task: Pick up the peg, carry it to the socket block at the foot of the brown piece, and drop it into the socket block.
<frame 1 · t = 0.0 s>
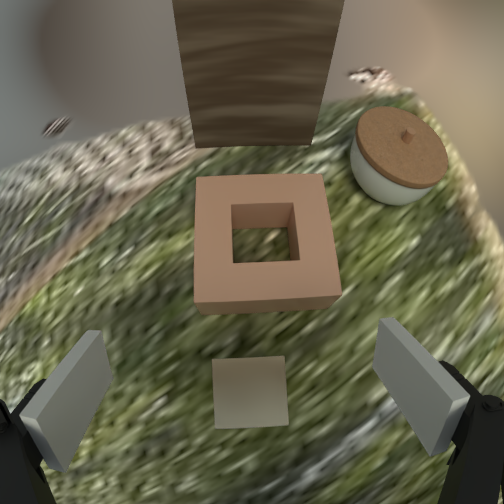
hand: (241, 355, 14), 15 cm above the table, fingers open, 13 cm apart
lidded jar: (381, 182, 37), on the table
brown piece: (254, 158, 37), on the table
socket block: (261, 253, 33), on the table
peg: (248, 387, 28), on the table
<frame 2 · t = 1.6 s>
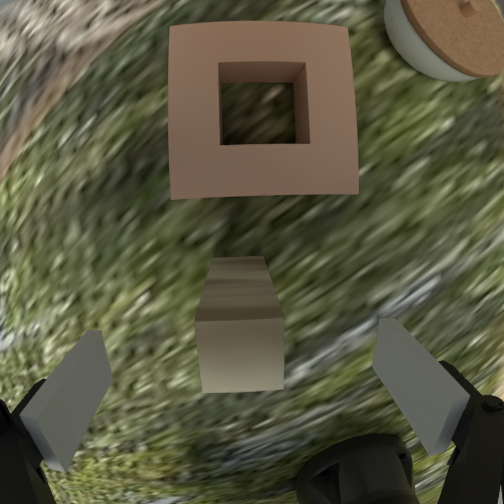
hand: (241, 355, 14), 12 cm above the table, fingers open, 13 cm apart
lidded jar: (416, 42, 22), on the table
socket block: (258, 115, 24), on the table
peg: (238, 280, 26), on the table
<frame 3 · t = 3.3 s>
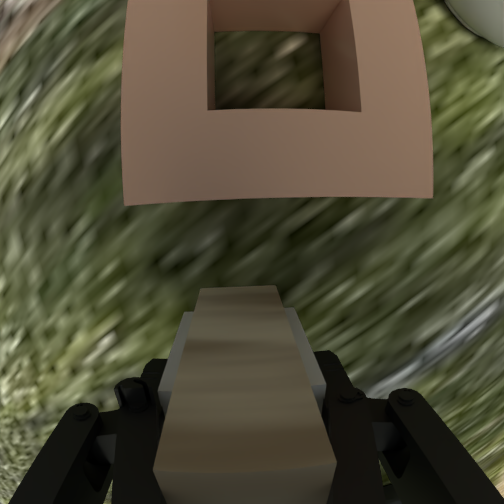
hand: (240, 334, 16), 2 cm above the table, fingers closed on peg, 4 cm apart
lidded jar: (469, 3, 14), on the table
socket block: (270, 76, 15), on the table
peg: (239, 320, 18), on the table, touching gripper
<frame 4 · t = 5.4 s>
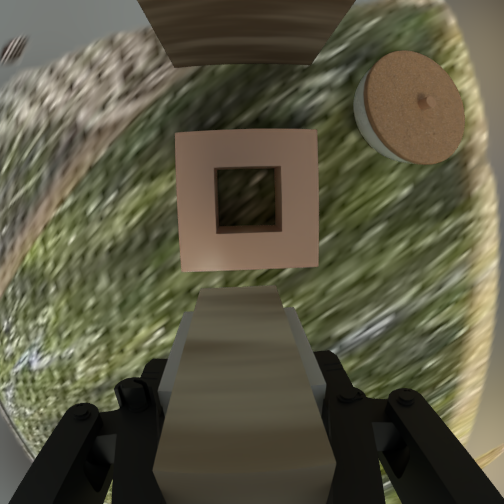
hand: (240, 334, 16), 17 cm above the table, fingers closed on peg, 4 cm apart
lidded jar: (384, 118, 31), on the table
brown piece: (243, 81, 29), on the table
socket block: (246, 197, 32), on the table
peg: (239, 320, 18), point 16 cm above the table, touching gripper
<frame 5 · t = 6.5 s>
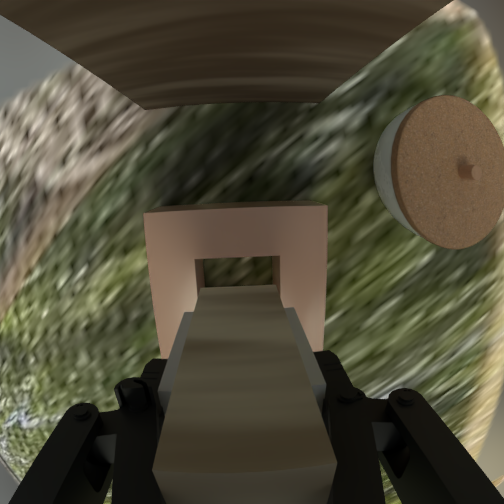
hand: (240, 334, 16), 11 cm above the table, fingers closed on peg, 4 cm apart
lidded jar: (408, 170, 26), on the table
brown piece: (232, 126, 24), on the table
socket block: (238, 275, 27), on the table
peg: (239, 320, 18), point 9 cm above the table, touching gripper
when the fingers open (7 cm above the table, at t = 7.4 s): peg drops 6 cm, resting in socket block.
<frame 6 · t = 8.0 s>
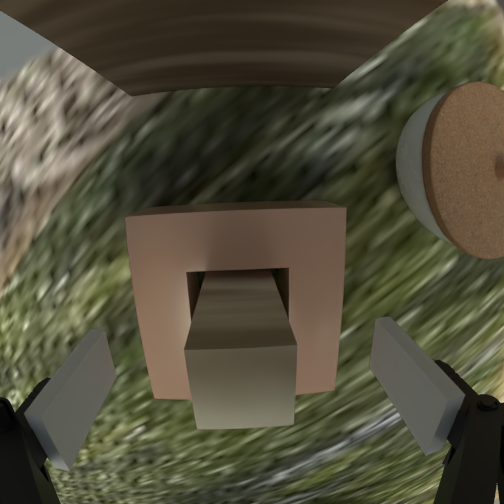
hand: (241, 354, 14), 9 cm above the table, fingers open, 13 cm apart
lidded jar: (430, 167, 22), on the table
brown piece: (232, 114, 20), on the table
socket block: (238, 287, 23), on the table
peg: (239, 287, 23), resting in socket block
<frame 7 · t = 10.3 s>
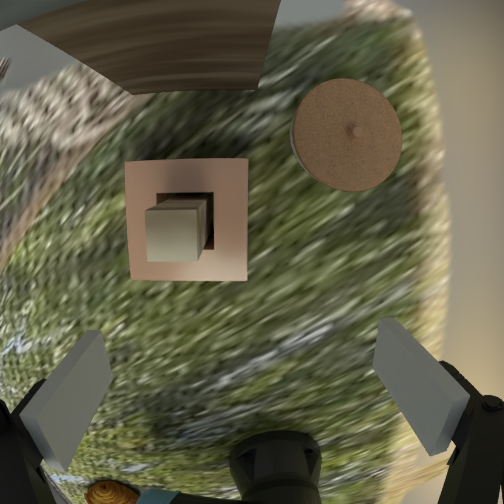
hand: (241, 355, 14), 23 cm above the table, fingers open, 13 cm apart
lidded jar: (328, 139, 34), on the table
croissant: (120, 496, 50), on the table
brown piece: (192, 107, 33), on the table
socket block: (192, 214, 36), on the table
peg: (192, 214, 36), resting in socket block
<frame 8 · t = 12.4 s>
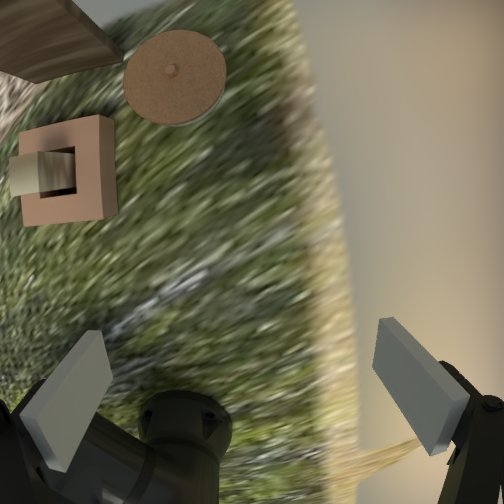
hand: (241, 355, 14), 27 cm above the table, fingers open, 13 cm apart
lidded jar: (184, 92, 36), on the table
brown piece: (75, 85, 34), on the table
socket block: (75, 172, 37), on the table
peg: (75, 172, 37), resting in socket block
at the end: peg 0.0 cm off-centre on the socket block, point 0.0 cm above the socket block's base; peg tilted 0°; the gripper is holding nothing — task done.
